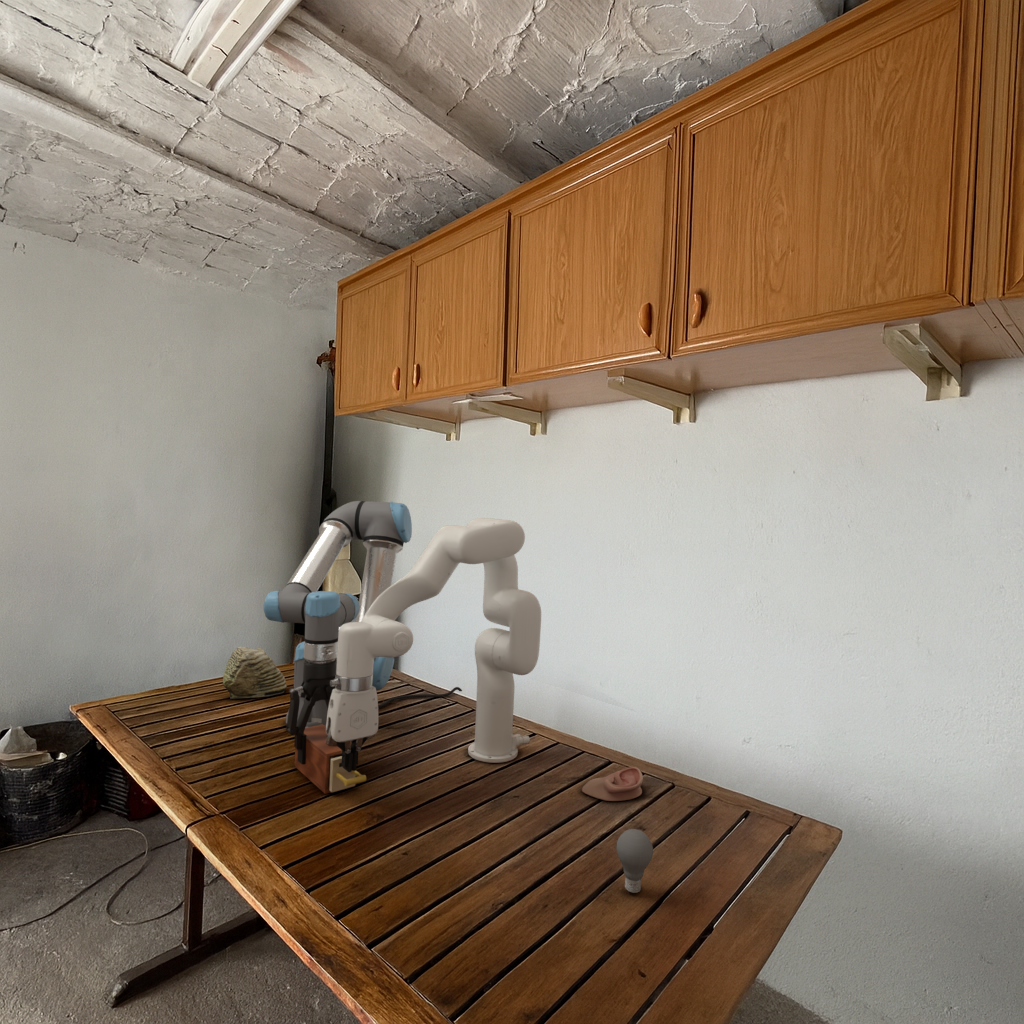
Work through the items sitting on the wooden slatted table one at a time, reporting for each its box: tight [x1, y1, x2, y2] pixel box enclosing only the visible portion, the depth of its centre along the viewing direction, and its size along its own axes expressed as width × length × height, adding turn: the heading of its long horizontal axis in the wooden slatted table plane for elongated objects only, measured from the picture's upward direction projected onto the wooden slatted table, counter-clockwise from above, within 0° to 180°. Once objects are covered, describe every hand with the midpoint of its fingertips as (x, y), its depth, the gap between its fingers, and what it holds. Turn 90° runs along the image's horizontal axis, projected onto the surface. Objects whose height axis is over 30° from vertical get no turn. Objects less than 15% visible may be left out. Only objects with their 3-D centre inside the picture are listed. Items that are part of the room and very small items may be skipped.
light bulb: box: [615, 828, 654, 894], centre depth 106 cm, size 6×6×10 cm
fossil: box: [222, 646, 288, 699], centre depth 198 cm, size 9×18×15 cm, turn 132°
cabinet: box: [294, 724, 342, 795], centre depth 144 cm, size 17×7×9 cm, turn 40°
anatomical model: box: [581, 766, 644, 802], centre depth 142 cm, size 13×4×12 cm
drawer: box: [329, 754, 367, 793], centre depth 140 cm, size 22×5×7 cm, turn 41°
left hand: (316, 758), depth 146 cm, fingers closed on cabinet, 7 cm apart
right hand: (349, 769), depth 133 cm, fingers closed
